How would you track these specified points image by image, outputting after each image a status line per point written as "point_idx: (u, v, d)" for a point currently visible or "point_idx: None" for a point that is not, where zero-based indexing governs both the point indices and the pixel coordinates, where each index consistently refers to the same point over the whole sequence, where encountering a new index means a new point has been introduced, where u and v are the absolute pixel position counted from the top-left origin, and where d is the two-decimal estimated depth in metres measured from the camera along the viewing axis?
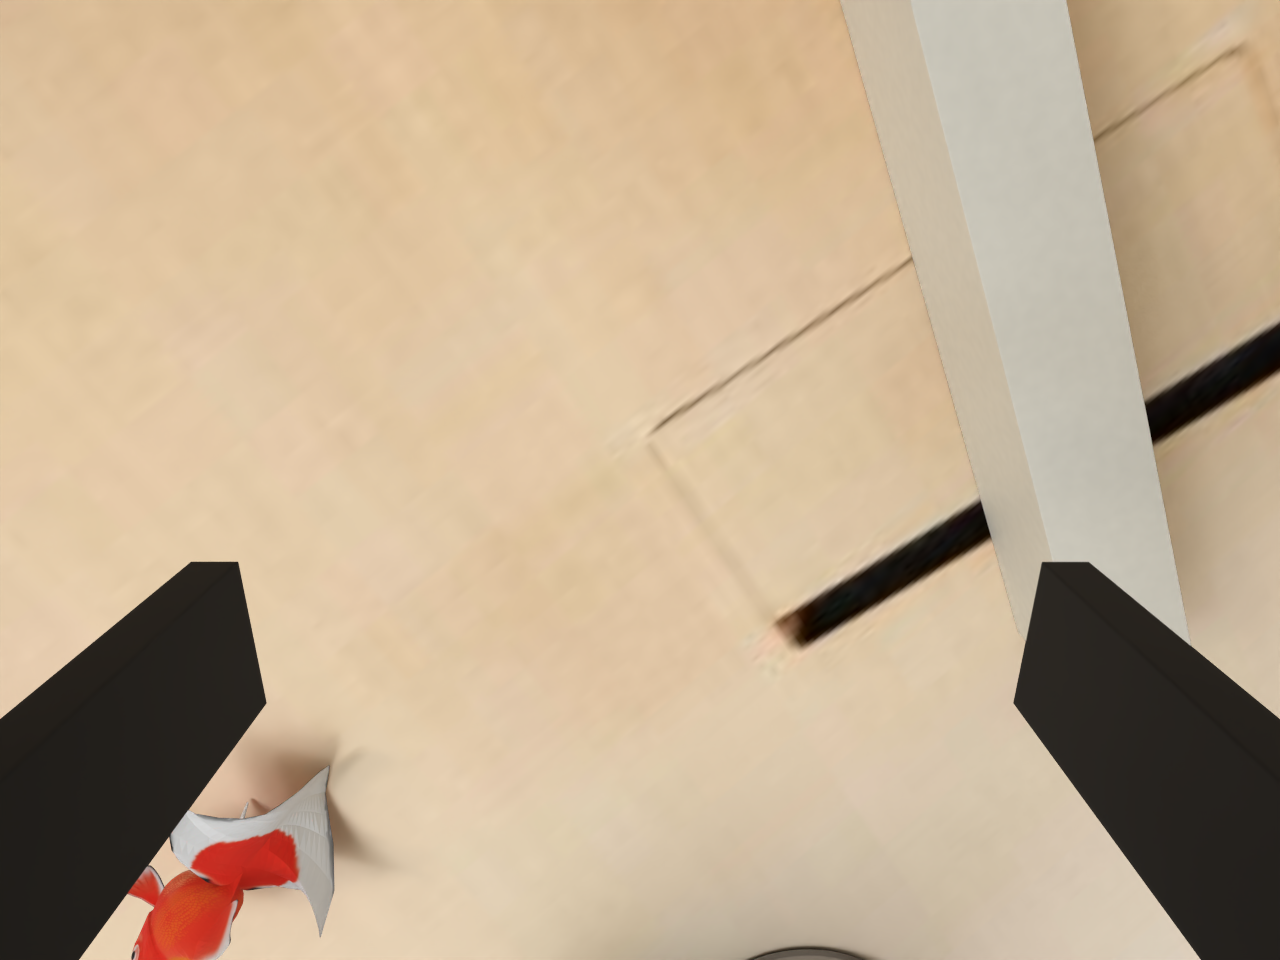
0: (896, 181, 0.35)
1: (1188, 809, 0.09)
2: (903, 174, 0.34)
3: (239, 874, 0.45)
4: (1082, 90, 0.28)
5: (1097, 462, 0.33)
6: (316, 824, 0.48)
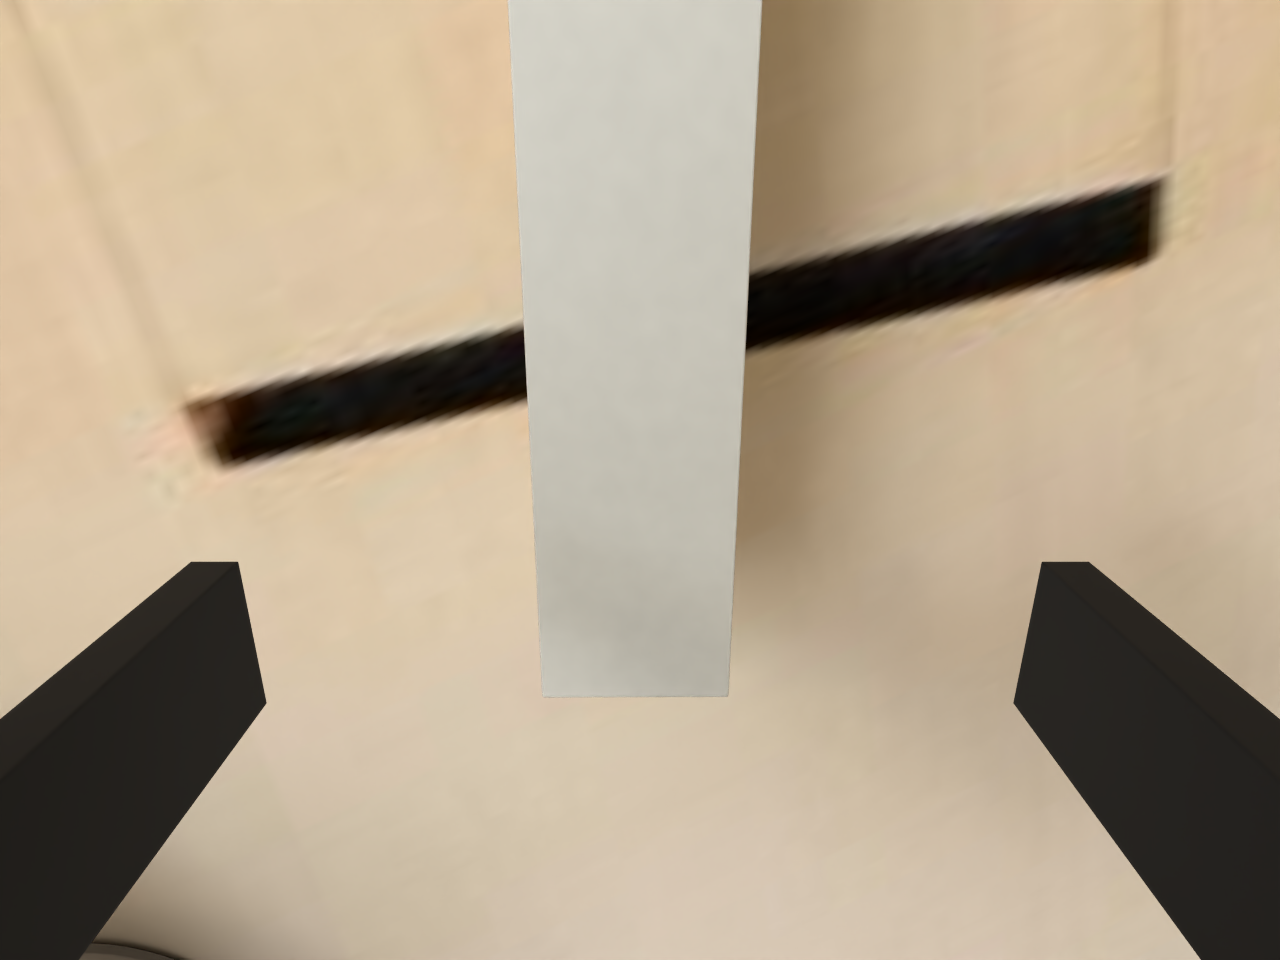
0: None
1: (1188, 809, 0.09)
2: None
3: None
4: None
5: (644, 172, 0.16)
6: None
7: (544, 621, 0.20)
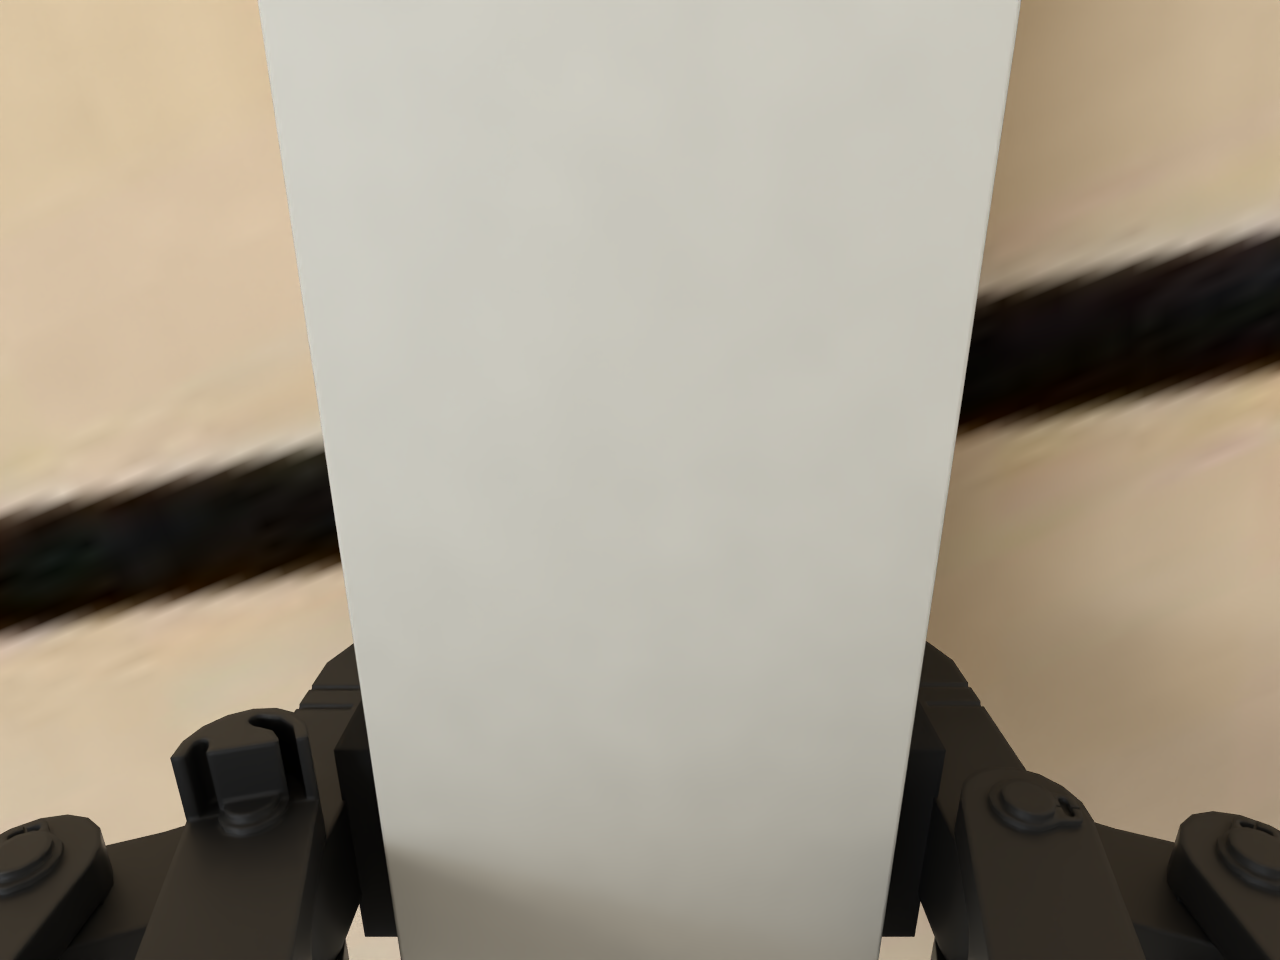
0: None
1: None
2: None
3: None
4: None
5: (669, 106, 0.05)
6: None
7: None
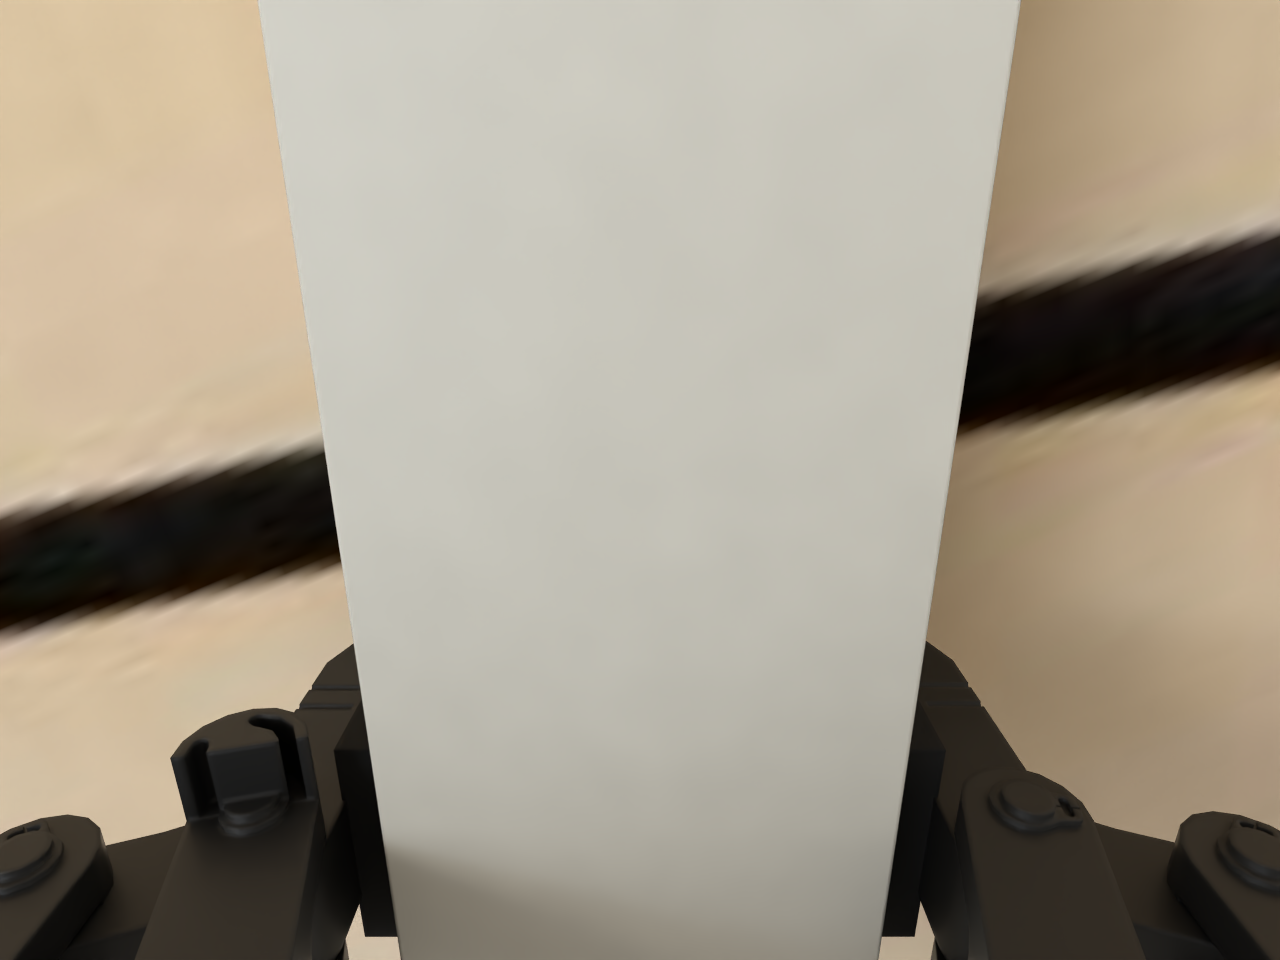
0: None
1: None
2: None
3: None
4: None
5: (669, 106, 0.05)
6: None
7: None
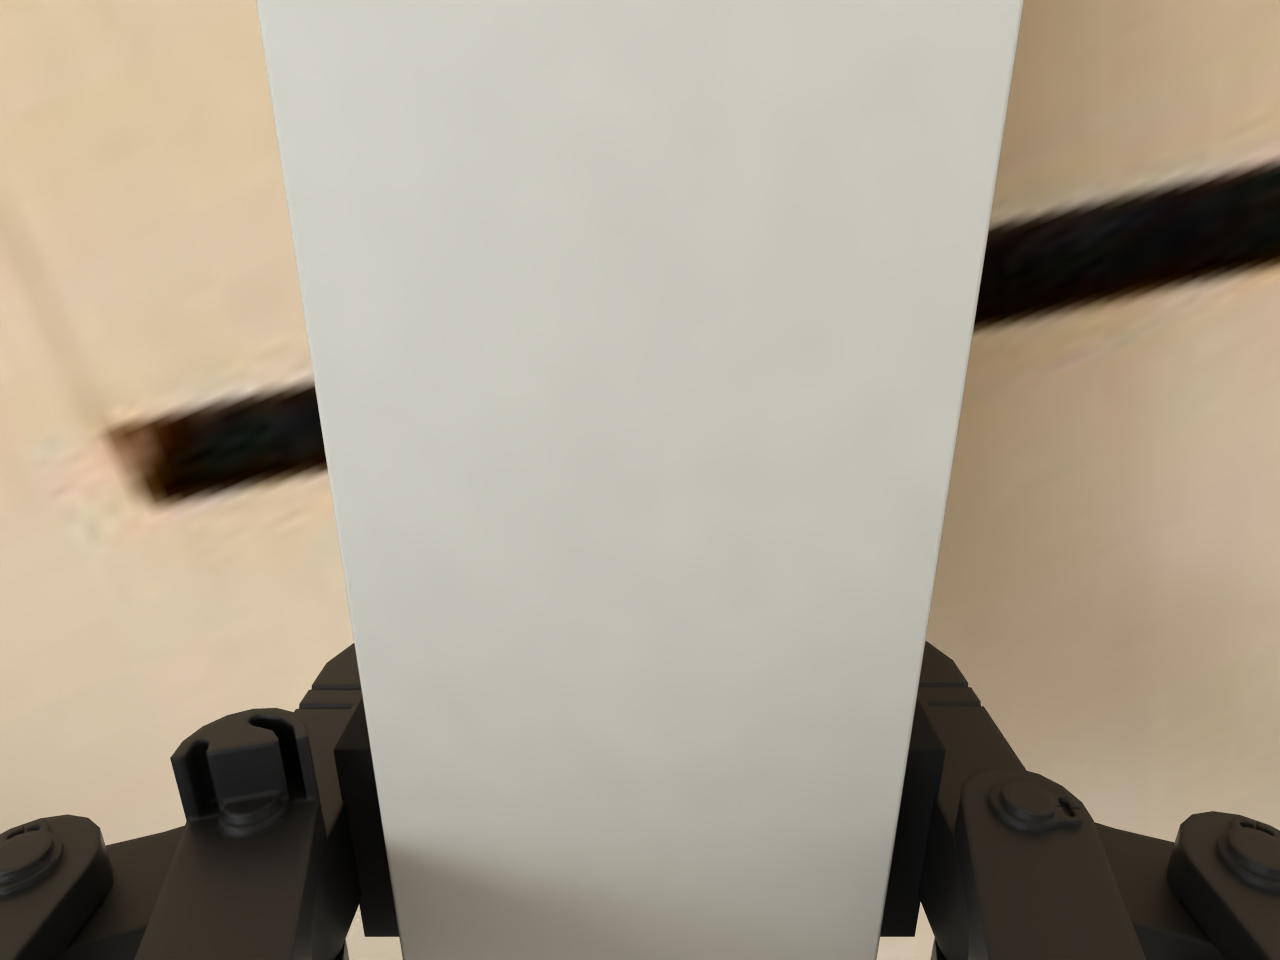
0: None
1: None
2: None
3: None
4: None
5: (669, 109, 0.05)
6: None
7: None
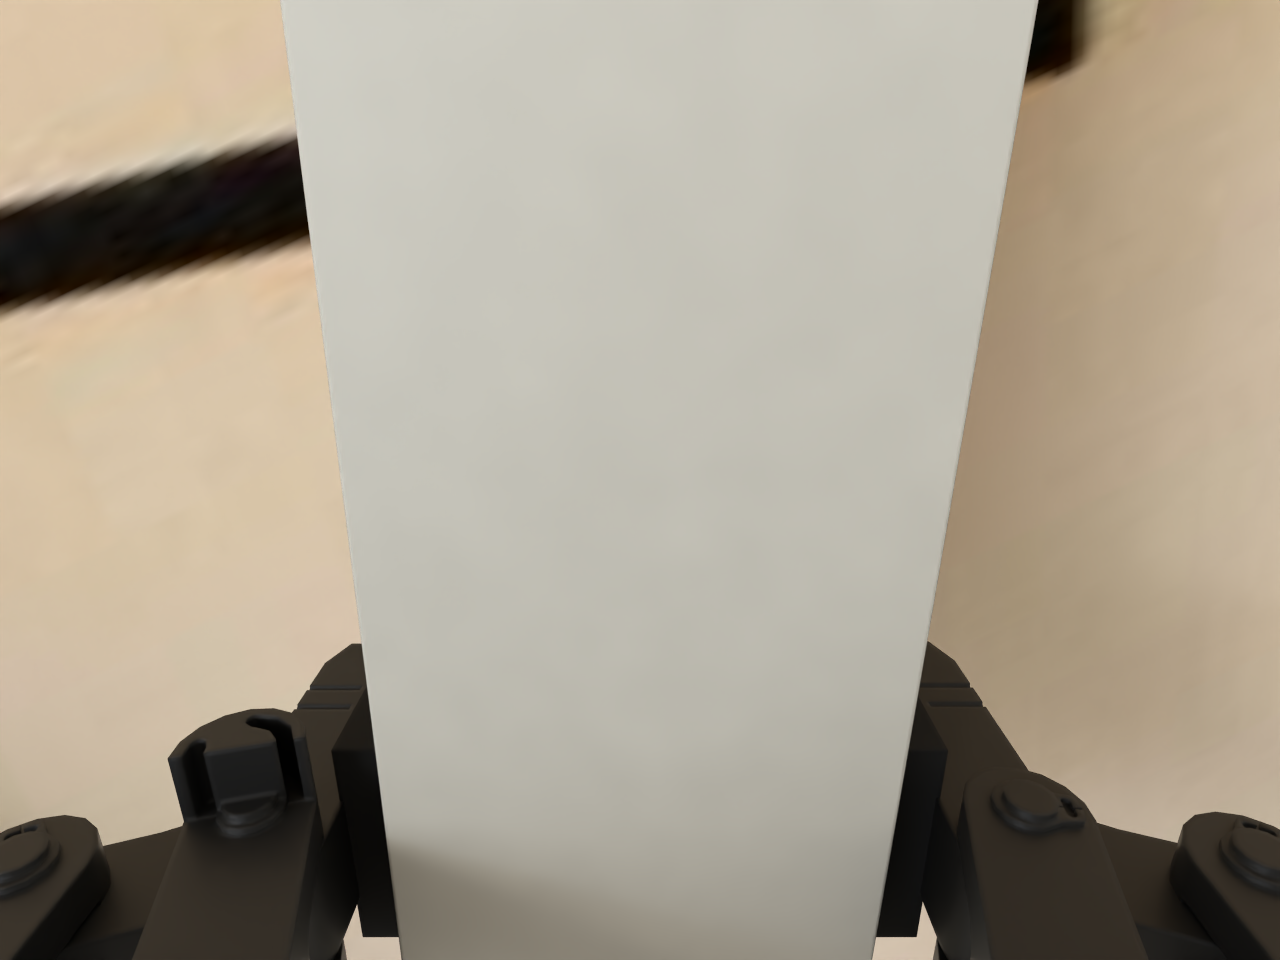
0: None
1: None
2: None
3: None
4: None
5: (685, 108, 0.05)
6: None
7: None
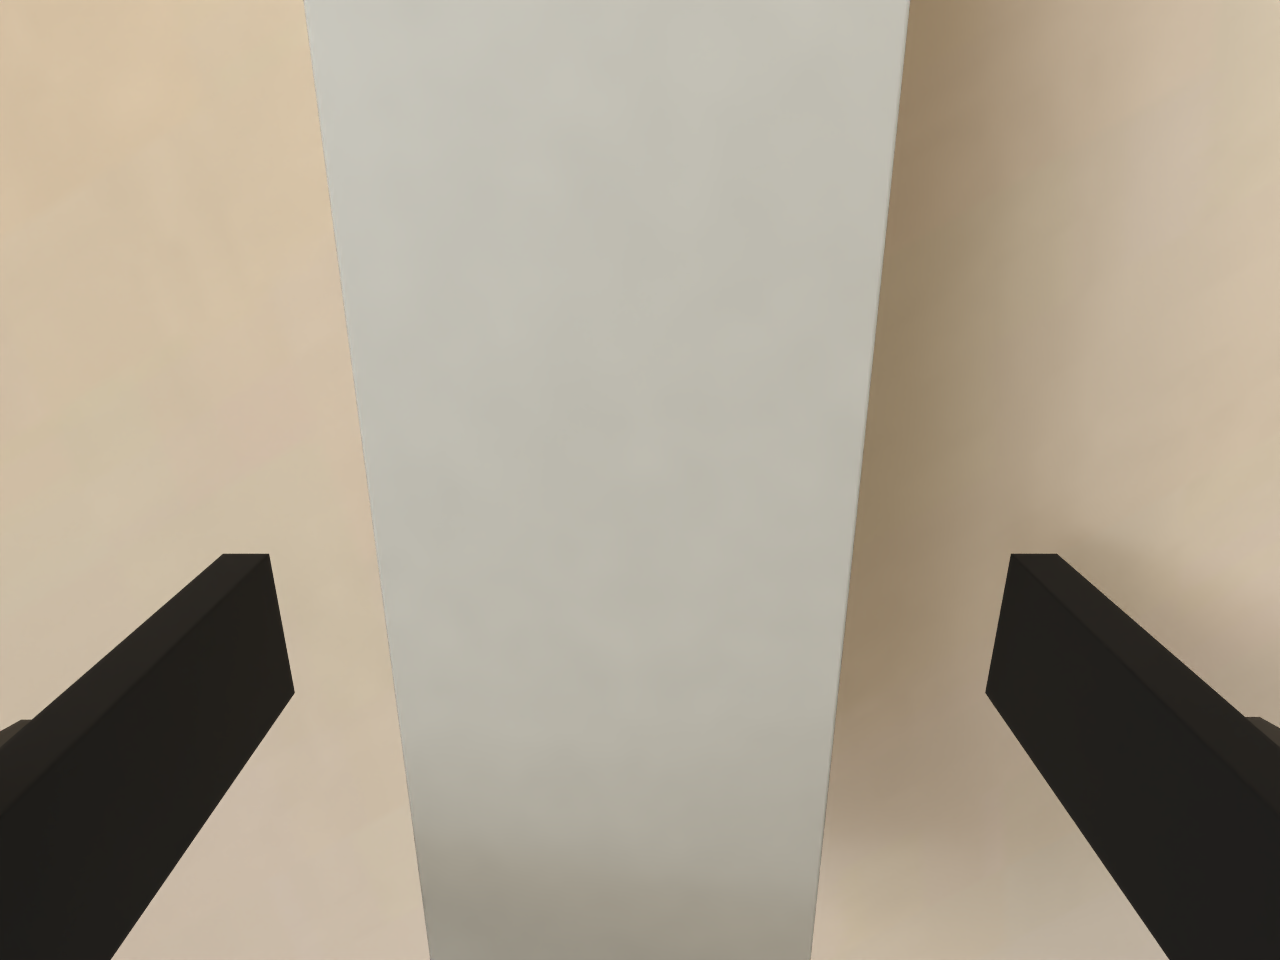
0: None
1: (1142, 792, 0.09)
2: None
3: None
4: None
5: (631, 104, 0.07)
6: None
7: None
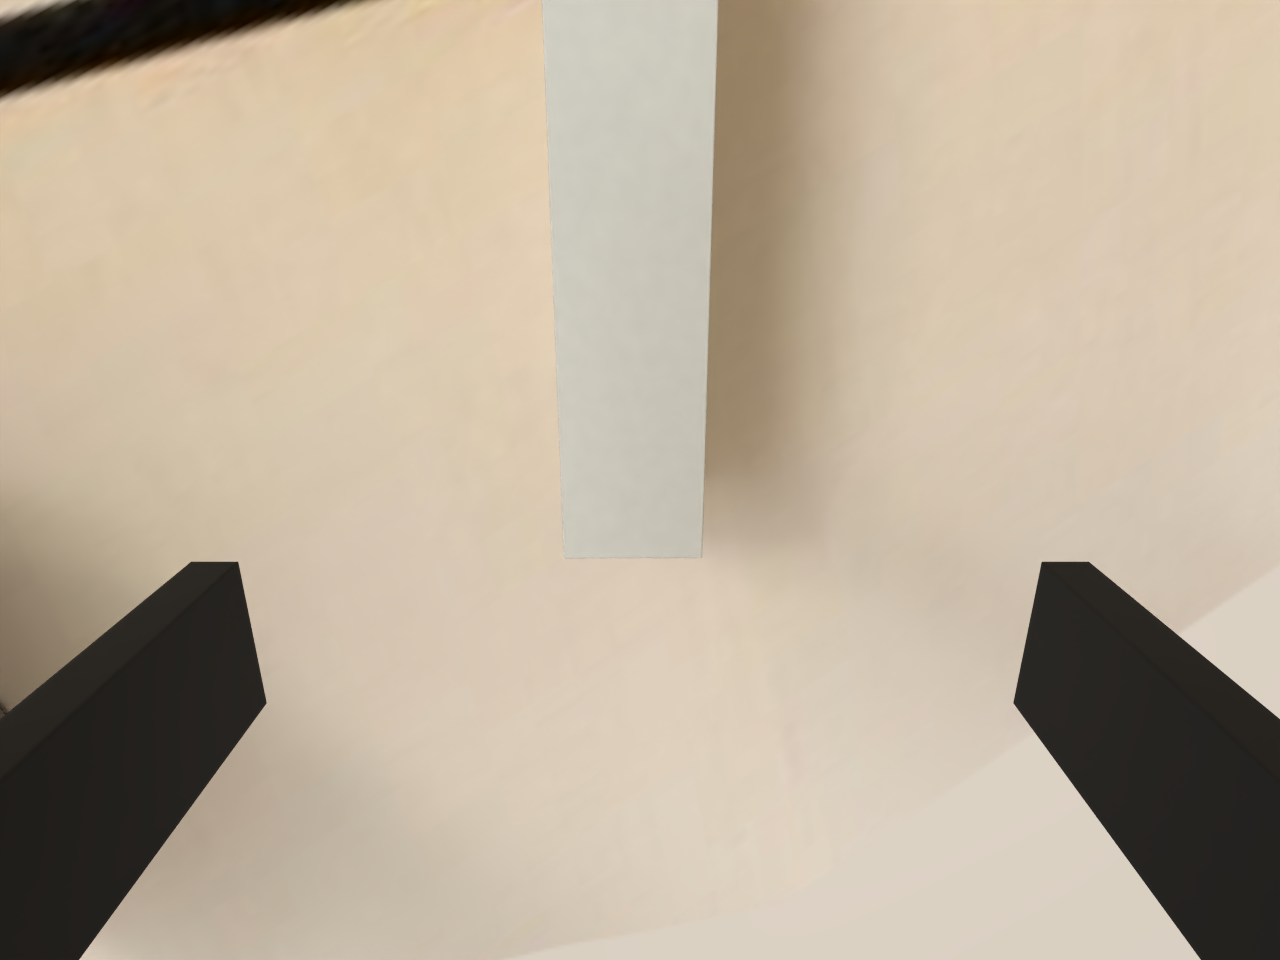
0: None
1: (1189, 810, 0.09)
2: None
3: None
4: None
5: (637, 167, 0.23)
6: None
7: (565, 498, 0.27)
